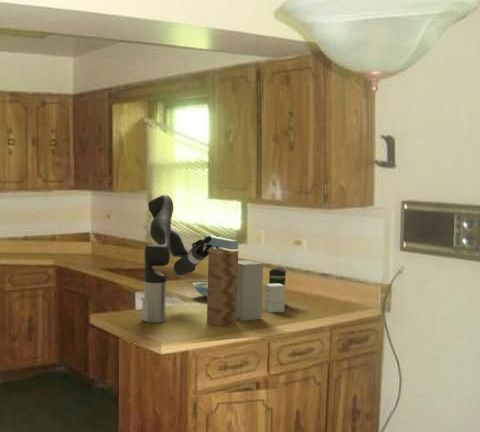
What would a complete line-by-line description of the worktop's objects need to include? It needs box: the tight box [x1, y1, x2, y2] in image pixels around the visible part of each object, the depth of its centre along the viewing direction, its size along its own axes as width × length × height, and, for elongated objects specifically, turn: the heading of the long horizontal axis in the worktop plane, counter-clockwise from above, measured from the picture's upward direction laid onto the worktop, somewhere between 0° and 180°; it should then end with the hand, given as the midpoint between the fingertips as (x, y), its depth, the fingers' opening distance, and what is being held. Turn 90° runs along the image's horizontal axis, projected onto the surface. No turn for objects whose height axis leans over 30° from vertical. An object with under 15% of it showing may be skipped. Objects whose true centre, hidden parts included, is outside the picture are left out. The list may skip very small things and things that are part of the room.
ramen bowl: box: [187, 279, 208, 299], centre depth 376 cm, size 25×23×8 cm
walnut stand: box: [206, 248, 239, 327], centre depth 316 cm, size 9×10×32 cm
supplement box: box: [264, 283, 286, 313], centre depth 348 cm, size 7×7×13 cm
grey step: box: [236, 259, 264, 322], centre depth 331 cm, size 10×12×25 cm
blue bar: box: [203, 235, 239, 250], centre depth 317 cm, size 4×24×4 cm, turn 30°
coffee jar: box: [268, 266, 287, 287], centre depth 362 cm, size 10×8×19 cm
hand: (214, 237), depth 322 cm, fingers closed on blue bar, 3 cm apart
